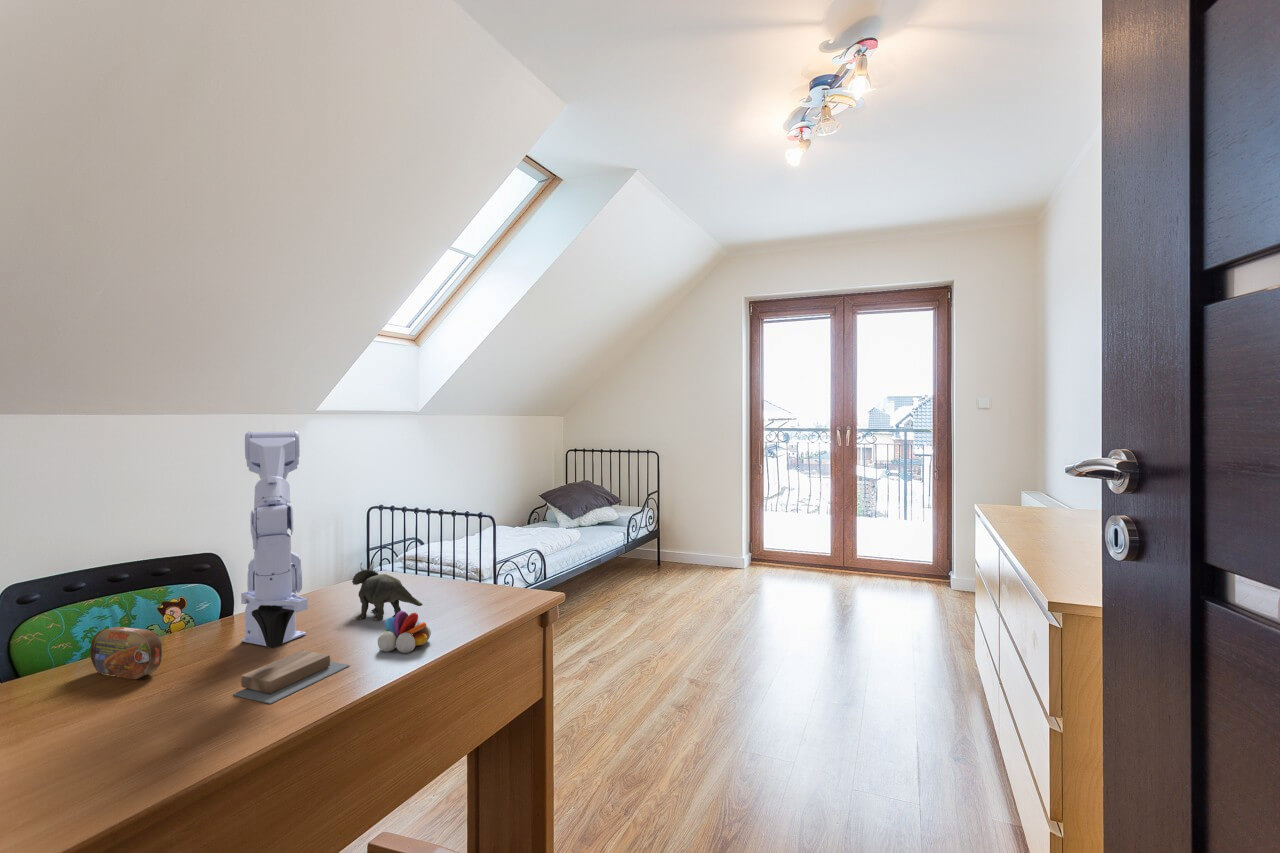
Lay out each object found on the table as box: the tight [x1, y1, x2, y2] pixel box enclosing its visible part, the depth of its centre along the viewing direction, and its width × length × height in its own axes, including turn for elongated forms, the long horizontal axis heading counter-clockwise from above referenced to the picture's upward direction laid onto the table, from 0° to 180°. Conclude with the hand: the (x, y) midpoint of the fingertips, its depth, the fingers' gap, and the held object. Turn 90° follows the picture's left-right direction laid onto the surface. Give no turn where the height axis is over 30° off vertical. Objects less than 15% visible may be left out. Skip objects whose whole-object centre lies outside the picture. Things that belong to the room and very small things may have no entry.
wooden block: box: [240, 649, 331, 693], centre depth 109 cm, size 2×12×7 cm
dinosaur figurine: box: [351, 560, 424, 621], centre depth 142 cm, size 22×8×11 cm, turn 58°
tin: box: [89, 626, 163, 680], centre depth 111 cm, size 15×3×8 cm, turn 74°
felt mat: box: [232, 660, 351, 705], centre depth 108 cm, size 9×16×1 cm, turn 158°
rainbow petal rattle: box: [377, 610, 432, 654], centre depth 123 cm, size 8×10×7 cm
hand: (274, 646), depth 110 cm, fingers closed
